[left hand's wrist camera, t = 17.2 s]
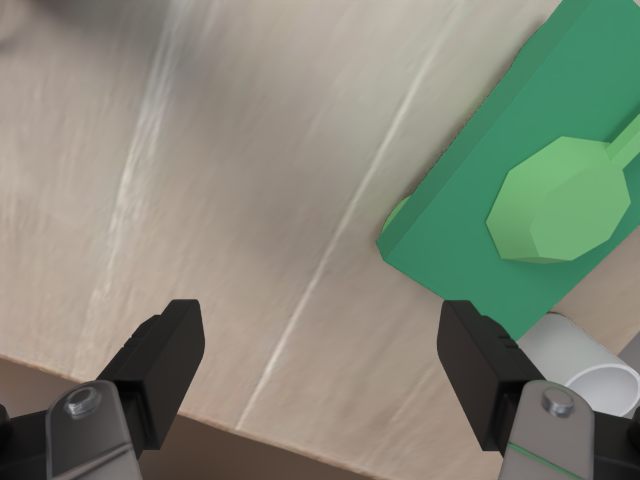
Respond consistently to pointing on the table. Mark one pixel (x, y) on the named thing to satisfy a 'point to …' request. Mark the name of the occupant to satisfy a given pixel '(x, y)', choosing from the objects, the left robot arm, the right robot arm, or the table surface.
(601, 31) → the toy tank
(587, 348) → the mug
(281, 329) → the table surface
